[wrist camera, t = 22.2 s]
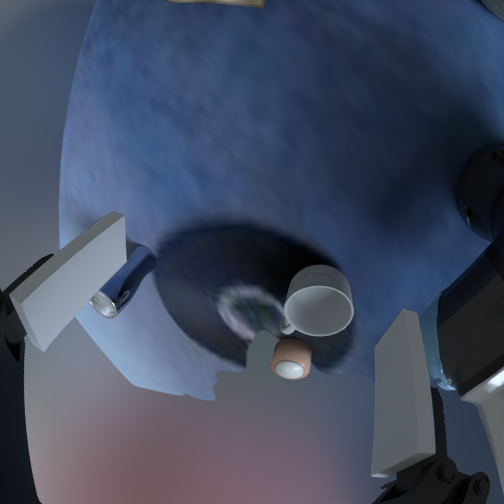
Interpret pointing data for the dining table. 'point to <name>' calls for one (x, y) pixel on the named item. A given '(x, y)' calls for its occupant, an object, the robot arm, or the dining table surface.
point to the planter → (495, 7)
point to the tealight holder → (291, 358)
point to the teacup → (318, 302)
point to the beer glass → (124, 283)
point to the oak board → (226, 2)
